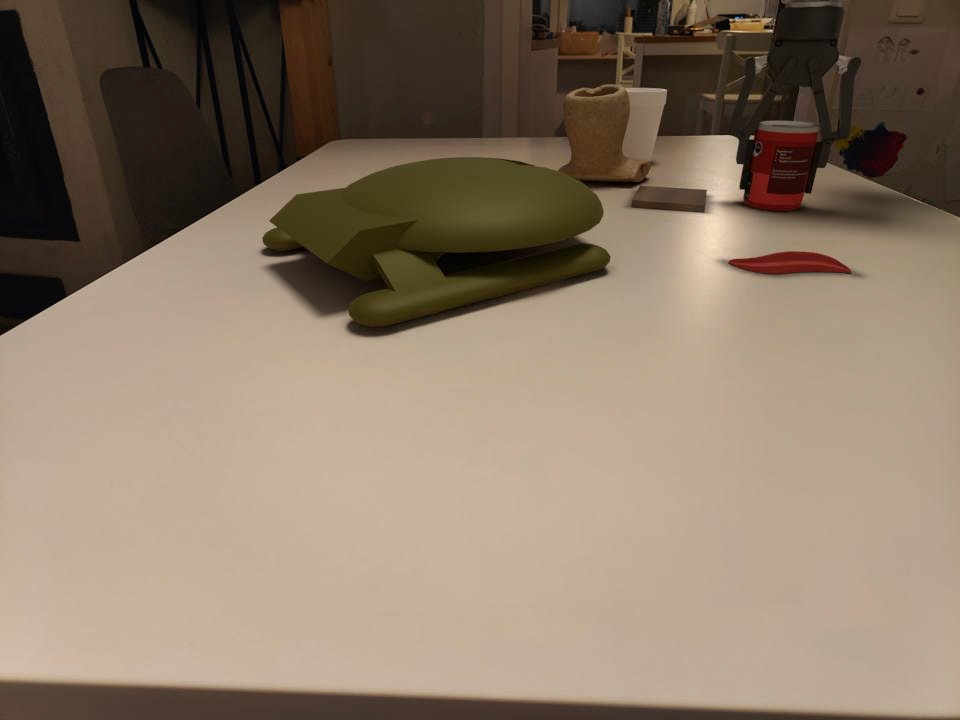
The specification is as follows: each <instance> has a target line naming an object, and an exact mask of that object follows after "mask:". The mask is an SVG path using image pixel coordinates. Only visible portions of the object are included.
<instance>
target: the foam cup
mask: <svg viewBox="0 0 960 720" xmlns="http://www.w3.org/2000/svg"><path fill="white" fill-rule="evenodd" d="M624 88H625V89H626V91H627V93H628V96H629V101H630V115H629V120H628V124H627V128H626V132H625V136H624V140H623V145H622V152H623V155H624V156H625V157H627V158H630V159H637V160H650V161H651V160H652V158H653V153H654V149H655V145H656V140H657V137H658V133H659V129H660V124H661V121H662V116H663V111H664V109H665V105H666V104H667V95H668V89H665V88H657V87H656V88H655V87H654V88H653V87H624Z"/></svg>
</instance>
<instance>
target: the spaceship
mask: <svg viewBox="0 0 960 720" xmlns="http://www.w3.org/2000/svg"><path fill="white" fill-rule="evenodd" d="M604 213H605V211H604V207H603V203H602V201H601V199H600V198H599V195H597V194H596V193H595V192H594V191H593V190H592V189H591V188H590V187H588V186H587V185H586V184H585V183H584V182H582V180H577V179H575V178H573V177H571V176H569V175H567V174H564V173H562V172H560V171H558V170H557V169H556V170H555V169H552V168H549V167H545V166H537V165H535V164H531V163H527V162H523V161H521V160H519V161H518V160H515V159H514V160H513V159H507V158H498V157H482V156H458V157H457V156H456V157H441V158H432V159H431V158H430V159H424V160H419V161H413V162H407V163H403V164H398V165H394V166H390V167H388V168H387V167H386V168H384V169H381V170H378V171H376V172H372V173H370V174H368V175H365V176H363V177H361V178H360V179H357V180H356V181H353V182H352V183H350V184H349V185H347V186H345V187H339V188H333V189H327V190H326V189H325V190H319V191H318V190H317V191H311V192H304V193H297V194H295V195H294V196H293V197H292V198H291V199H290V200H289V201H288V202H287V203H285V204H284V206H283V207H282V208H280V210H278V212H276V213H275V214H274V215H273V216H272V217H271V218H270V219H269V220H268V222H269V223H271V224H272V225H273V226H274V227H273V228H271V229H269V230H268V231H266V232H265V233H264V234H263V236H262V237H261V239H262V243H263V245H264V246H265V247H266V248H267V249H270V250H274V251H277V252H288V251H293V250H300V249H304V248H305V249H306V250H308V251H309V252H310V253H311V254H313V255H314V256H316V257H317V258H318V259H320V260H321V261H322V262H324V263H325V264H327V265H328V266H331V267H334V268H336V269H338V270H340V271H342V272H345V273H346V274H349V275H350V276H353V277H355V278H358V279H360V280H362V281H365V282H368V281H372V280H377V279H383V281H384V284H385V285H386V286H387V287H386V288H383V289H379V290H373V291H370V292H367V293H364V294H361V295H358V296H357V297H356V298H354V299H353V300H352V301H351V303H350V305H348V306H349V307H348V308H347V309H348V315H349V317H350V319H351V320H352V321H354V322H355V323H357V324H358V325H361V326H365V327H371V328H381V327H387V326H392V325H393V326H394V325H396V324H401V323H404V322H408V321H411V320H415V319H419V318H422V317H426V316H430V315H434V314H438V313H443V312H445V311H450V310H453V309H456V308H460V307H465V306H468V305H472V304H475V303H480V302H483V301H486V300H490V299H491V300H492V299H495V298H499V297H502V296H505V295H509V294H513V293H516V292H521V291H525V290H528V289H533V288H536V287H540V286H543V285H547V284H551V283H554V282H558V281H559V282H560V281H562V280H567V279H571V278H574V277H578V276H581V275H585V274H589V273H593V272H597V271H599V270H602V269H605V267H606V266H608V265H609V264H610V262H611V254H610V253H609V252H608V250H607V249H606V248H604V247H602V246H599V245H598V244H594V243H577V244H573V245H569V246H564V247H559V248H555V249H551V250H547V251H543V252H538V253H534V254H529V255H525V256H522V257H517V258H513V259H507V260H504V261H500V262H496V263H491V264H487V265H482V266H478V267H473V268H469V269H464V270H461V271H458V272H457V271H456V272H451V273H447V274H444V273H443V272H442V270H441V269H440V267H439V265H438V264H437V262H438V260H439V259H440V258H441V257H442V256H443V255H445V253H458V254H459V253H484V252H487V253H488V252H501V251H509V250H519V249H526V248H533V247H537V246H544V245H549V244H554V243H558V242H561V241H565V240H568V239H572V238H575V237H578V236H580V235H582V234H584V233H586V232H589V231H592V229H594V228H596V226H597V225H599V224H601V222H602V219H603V217H604Z"/></svg>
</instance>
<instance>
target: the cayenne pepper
mask: <svg viewBox="0 0 960 720" xmlns="http://www.w3.org/2000/svg"><path fill="white" fill-rule="evenodd" d="M727 263H728V264H729V265H732V266H734V267H737V268H739V269H742V270H746V271H750V272H754V273H761V274H769V275H780V274H792V273H806V272H807V273H808V272H809V273H810V272H813V273H814V272H816V273H817V272H821V273H822V272H825V273H845V274H853V273H852V270H851V268H849V267H848V266H847V265H846V264H844V263H842V262H841V261H840V260H838V259H836V258H834V257H832V256H829V255H827V254H823V253H820V252H814V251H798V250H797V251H795V250H789V251H778V252H773V253H769V254H765V255H761V256H754V257H745V258H732V259H730V260H729V261H727Z"/></svg>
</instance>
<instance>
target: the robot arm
mask: <svg viewBox="0 0 960 720" xmlns="http://www.w3.org/2000/svg"><path fill="white" fill-rule="evenodd" d="M846 1H847V0H781V3H782V4H784V5H785V6H784V8H781V9H780V11H779V12H778V17H777V22H776V27H775V31H774V38H773V43H772V46H771V48H770V50H769V51H768V53H767V54H765V55H760V56H748V57H747V58H745V61H744V78H743V80H742V84H741V87H740V90H739V93H738V96H737V99H736V102H735V105H734V108H733V111H732V114H731V117H730V120H729V123H728V126H727V134H728V136H732V137H734V138H736V139H737V140H738V145H737V149H736V156H735V162H736V165H742V169H741V175H740V178H739V179H740V180H739V186H738V187H739V190H740V191H741V190H742V191H745V189H746V184H747V179H748V173H749V168H750V163H751V157H752V152H753V147H754V138H751V137H752V135H753V133H754V132H755V131H756V127H757V125H758V123H759V122H761V120H762V119H763V117H765V116H764V115H765V114H766V112H767V111H768V109H769V108H770V106H771V104H772V103H773V101H774V100H775V98H776V96H777V95H778V94H779V92H780V91H781V89H782V88H783V87H784V88H791V87H796V86H799V87H802V88H809V89H810V94H811V97H812V102H813V108H814V112H815V117H816V121H817V125H819V136H820V141H816V145H815V149H814V154H813V158H812V162H811V166H810V171H809V175H808V179H807V183H806V187H805V192H804V194H807V195H810V194H812V191H813V187H814V183H815V179H816V174H817V170H818V169H825V168H826V167H827V164H828V161H829V156H830V153H831V149H832V145H833V144H834V143H835V142H838V141H843V140H847V139H848V138H849V137H850V136H851V127H852V126H851V125H852V114H853V102H854V89H855V78H856V75H857V73H858V71H859V69H860V67H861V64H862V59H861V57H859V56H846V55H842V54H840V52H839V48H838V45H839V44H838V43H839V39H840V34H841V30H842V27H843V21H844V18H845V14H846V10H845V7H842V3H845V2H846ZM766 64H767V66H768V67H769V69H770V71H771V73H772V75H773V79H772V80H771V82H770V84H769V85H768V87H767V89H766V90H765V92H764V94H763V96H762V97H761V98H760V100H759V102H758V103H757V105H756V106H755V109H754V110H753V112H752V113H751V114H750V117H749V119H748V120H747V121H746V123H745V125H744V126H743V127H740V123H741V120H742V118H743V115H744V111H745V109H746V107H747V102H748V101H749V96H750V94H751V91H752V89H753V86H754V82H755V79H756V75H759V74H760V73H761V72H762V70H763V67H764V66H765V65H766ZM835 65H837V66H838V68H837V72H838V74H840V75H841V76H840V84H839V94H838V95H839V98H838V110H837V111H838V112H837V122H836V123H837V124H836V129H835V130H833V128H832V124H831V118H830V114H829V109H828V104H827V98H826V94H825V87H824V83H823V77H824V76H825V75H826V74H827V73H828V72H829V71H830V70H831V69H832V68H833V67H834V66H835ZM750 138H751V139H750Z"/></svg>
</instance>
